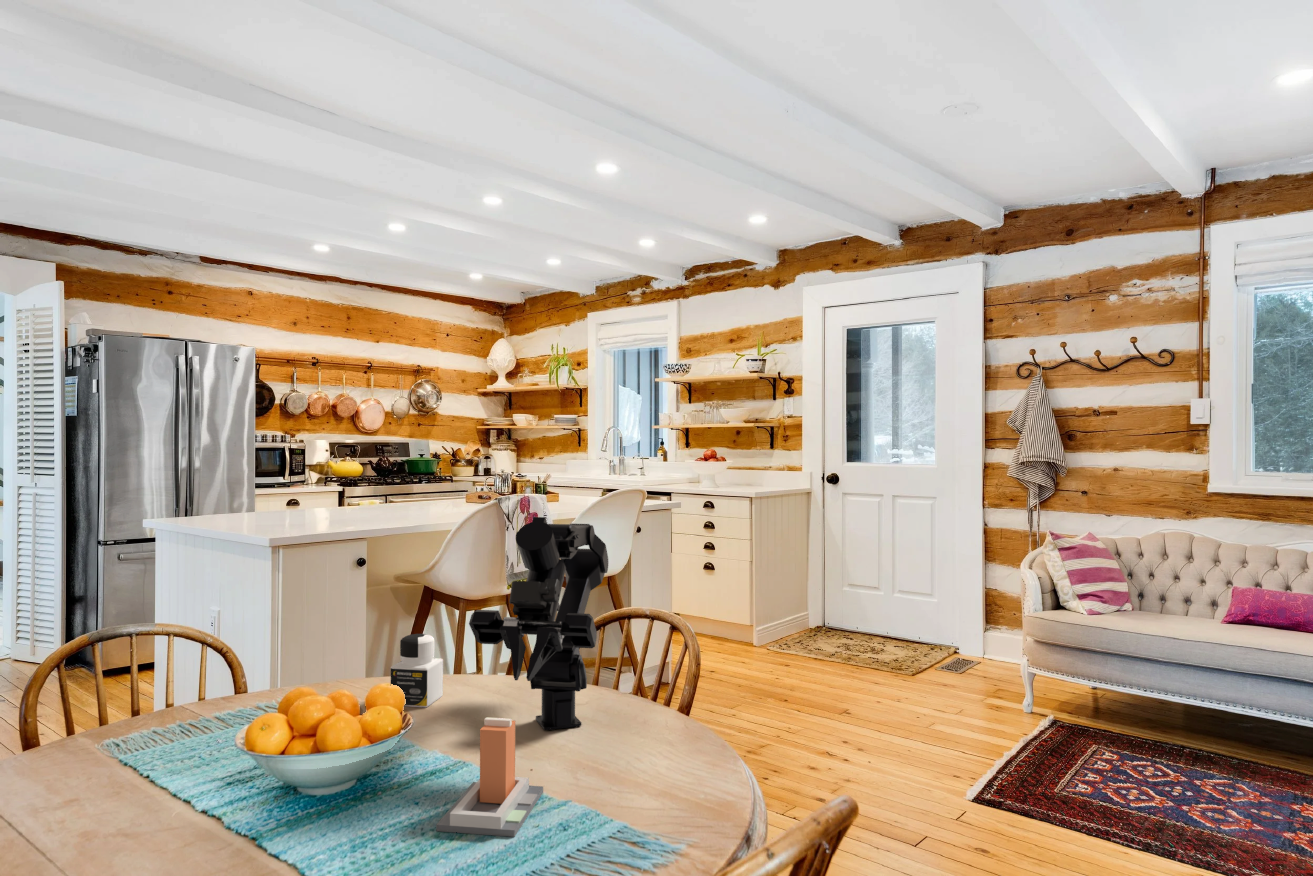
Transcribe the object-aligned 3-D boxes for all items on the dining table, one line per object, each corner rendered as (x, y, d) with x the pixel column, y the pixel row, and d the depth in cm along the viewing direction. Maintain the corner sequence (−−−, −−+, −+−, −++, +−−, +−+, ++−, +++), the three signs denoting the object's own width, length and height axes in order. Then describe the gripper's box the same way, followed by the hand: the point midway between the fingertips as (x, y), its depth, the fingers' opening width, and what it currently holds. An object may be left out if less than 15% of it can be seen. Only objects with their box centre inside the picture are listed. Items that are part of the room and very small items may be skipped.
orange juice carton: (489, 789, 114) (490, 713, 114) (514, 791, 114) (515, 714, 114) (479, 802, 110) (480, 723, 110) (505, 804, 110) (506, 725, 110)
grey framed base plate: (473, 787, 117) (473, 771, 117) (543, 792, 116) (543, 775, 116) (436, 831, 104) (436, 812, 104) (514, 836, 103) (514, 818, 103)
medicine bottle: (389, 706, 152) (390, 639, 152) (407, 694, 159) (408, 630, 159) (426, 708, 151) (427, 641, 151) (443, 696, 158) (443, 632, 158)
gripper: (473, 557, 129) (445, 647, 118) (593, 560, 126) (575, 652, 115) (490, 598, 137) (465, 687, 126) (603, 602, 134) (587, 693, 123)
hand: (521, 679), depth 122 cm, fingers closed
